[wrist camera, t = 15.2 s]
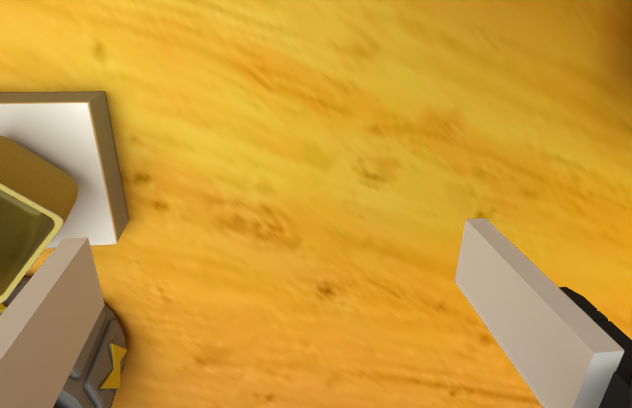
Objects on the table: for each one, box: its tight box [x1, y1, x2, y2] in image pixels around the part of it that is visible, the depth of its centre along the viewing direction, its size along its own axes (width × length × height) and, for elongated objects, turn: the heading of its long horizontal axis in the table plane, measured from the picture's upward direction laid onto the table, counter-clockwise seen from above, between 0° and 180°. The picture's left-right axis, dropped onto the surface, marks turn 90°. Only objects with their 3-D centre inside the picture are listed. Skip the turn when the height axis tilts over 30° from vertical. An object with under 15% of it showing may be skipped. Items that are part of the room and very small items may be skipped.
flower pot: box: [0, 135, 78, 303], centre depth 32 cm, size 9×9×9 cm
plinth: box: [0, 91, 129, 248], centre depth 38 cm, size 13×13×5 cm
